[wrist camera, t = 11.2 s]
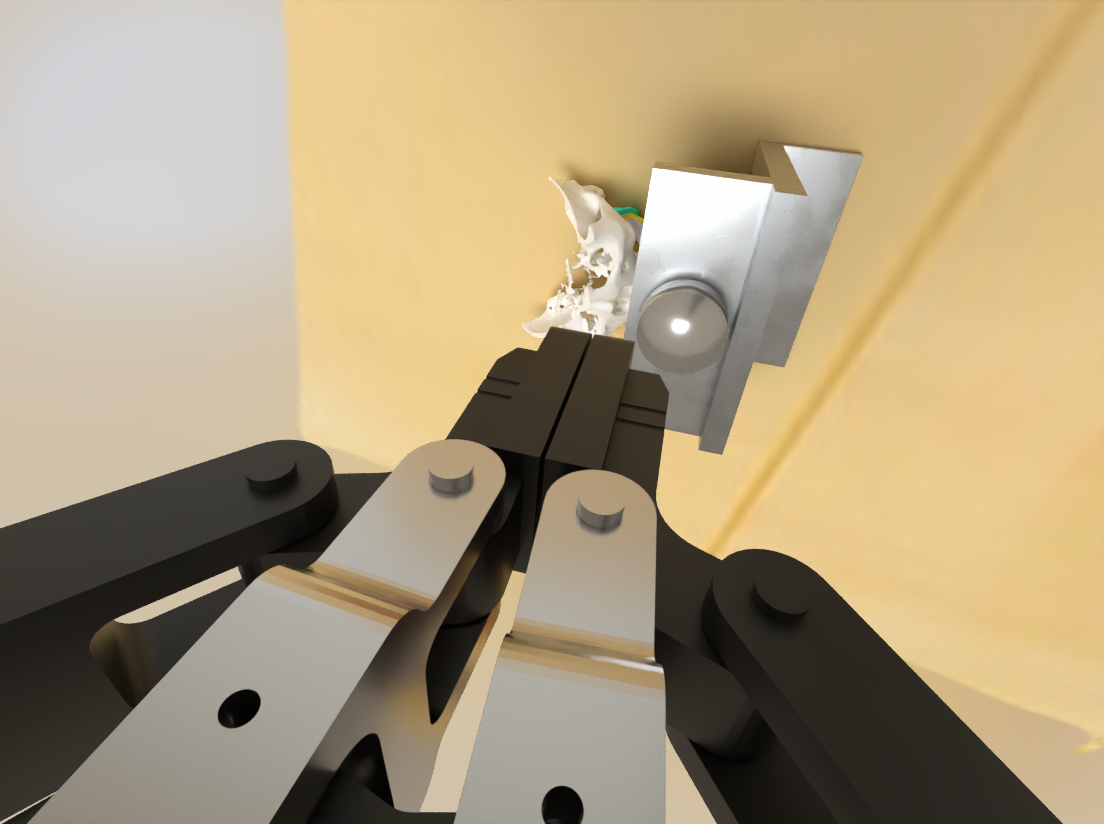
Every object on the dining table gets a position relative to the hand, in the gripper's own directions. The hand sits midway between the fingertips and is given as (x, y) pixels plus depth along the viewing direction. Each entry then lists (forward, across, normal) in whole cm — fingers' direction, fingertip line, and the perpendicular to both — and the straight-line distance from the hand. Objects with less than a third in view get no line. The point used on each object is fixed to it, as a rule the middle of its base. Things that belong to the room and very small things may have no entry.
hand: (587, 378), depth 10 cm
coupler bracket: (+35, -6, +9) cm, 37 cm away
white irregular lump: (+35, +3, +11) cm, 37 cm away
